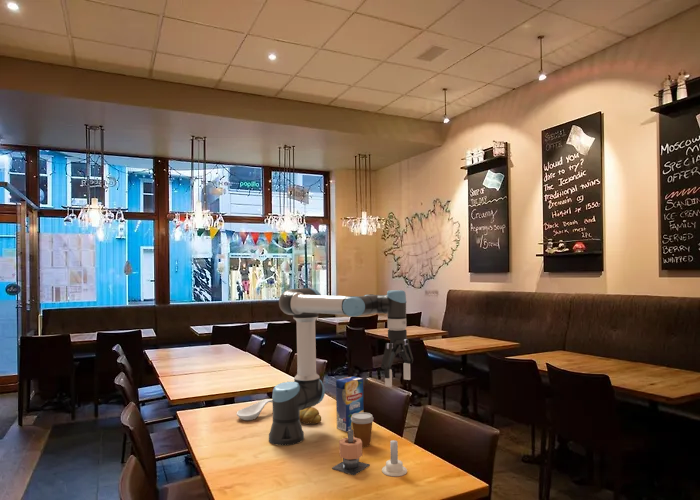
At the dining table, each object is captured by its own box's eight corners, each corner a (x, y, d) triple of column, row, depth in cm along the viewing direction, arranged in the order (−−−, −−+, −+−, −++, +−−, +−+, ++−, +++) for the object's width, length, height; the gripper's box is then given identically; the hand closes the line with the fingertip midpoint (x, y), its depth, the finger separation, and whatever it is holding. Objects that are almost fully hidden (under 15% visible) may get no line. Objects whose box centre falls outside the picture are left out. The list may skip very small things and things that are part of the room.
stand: (332, 468, 171) (331, 431, 172) (347, 459, 180) (347, 424, 180) (354, 475, 166) (353, 436, 166) (369, 465, 174) (369, 428, 174)
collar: (335, 456, 172) (335, 442, 172) (348, 449, 178) (348, 435, 179) (353, 461, 167) (353, 446, 167) (365, 453, 174) (365, 440, 174)
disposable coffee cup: (372, 449, 189) (371, 419, 190) (349, 448, 191) (348, 418, 192) (375, 441, 199) (375, 412, 199) (353, 439, 201) (353, 411, 201)
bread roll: (325, 422, 225) (325, 405, 225) (311, 427, 217) (311, 410, 218) (306, 417, 233) (306, 400, 233) (292, 422, 225) (292, 405, 226)
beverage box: (363, 426, 218) (363, 378, 219) (346, 431, 211) (345, 382, 212) (353, 422, 223) (353, 376, 224) (336, 428, 216) (335, 380, 217)
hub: (377, 472, 168) (376, 442, 168) (390, 463, 175) (389, 435, 176) (399, 478, 163) (398, 448, 163) (411, 469, 170) (410, 440, 170)
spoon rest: (245, 424, 224) (245, 409, 224) (231, 419, 232) (231, 404, 232) (284, 413, 241) (284, 399, 241) (270, 408, 249) (270, 395, 249)
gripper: (387, 333, 174) (388, 390, 173) (421, 326, 194) (422, 378, 193) (371, 331, 179) (372, 387, 178) (405, 325, 198) (406, 375, 198)
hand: (398, 382), depth 185 cm, fingers open, 13 cm apart
